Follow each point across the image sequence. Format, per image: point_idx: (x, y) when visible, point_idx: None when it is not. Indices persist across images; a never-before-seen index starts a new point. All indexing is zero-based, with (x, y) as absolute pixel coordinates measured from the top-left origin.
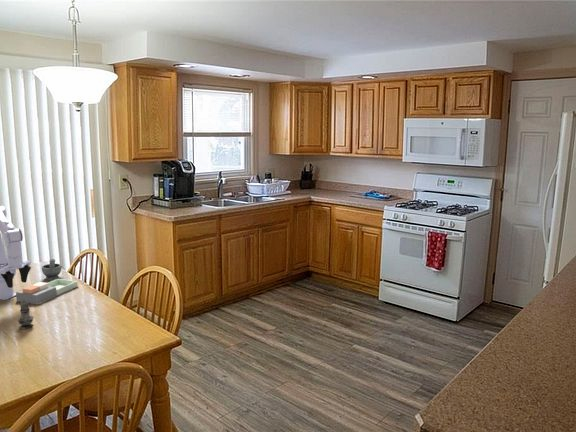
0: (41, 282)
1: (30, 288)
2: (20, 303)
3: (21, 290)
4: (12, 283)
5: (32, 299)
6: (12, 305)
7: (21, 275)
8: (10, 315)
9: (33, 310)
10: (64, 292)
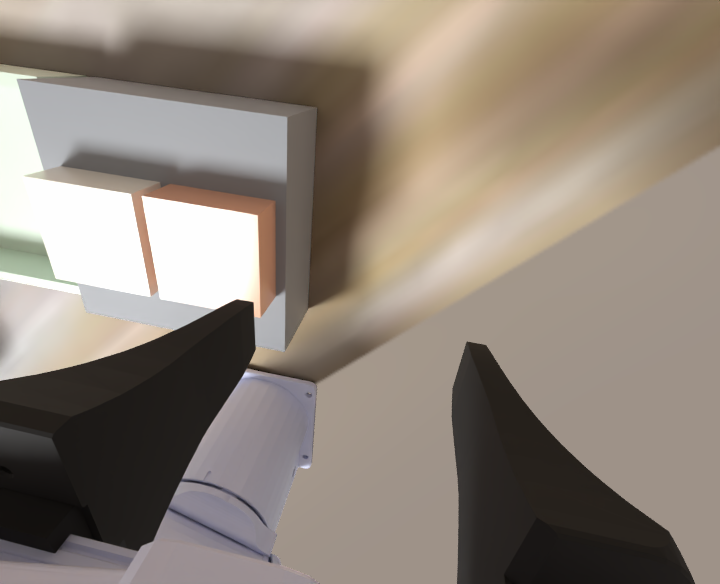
0: (54, 256)
1: (224, 249)
2: None
3: None
4: (484, 373)
5: (302, 167)
6: (384, 289)
7: (205, 415)
8: (606, 163)
9: (462, 23)
10: (4, 65)
